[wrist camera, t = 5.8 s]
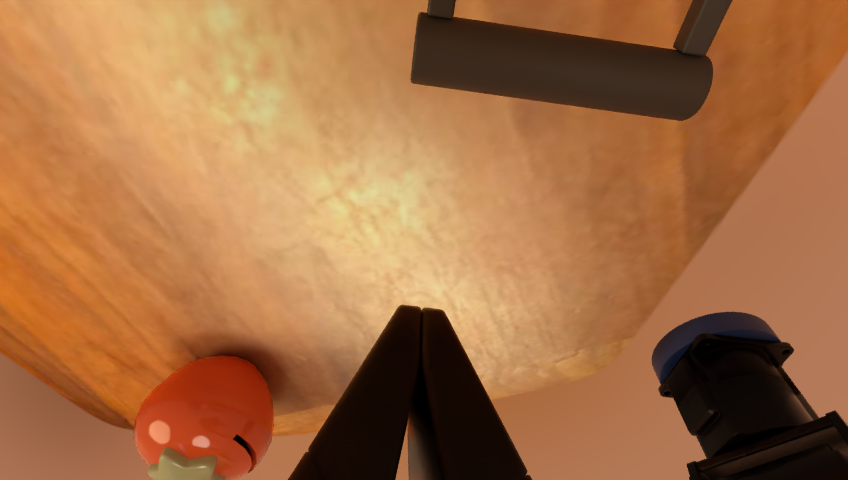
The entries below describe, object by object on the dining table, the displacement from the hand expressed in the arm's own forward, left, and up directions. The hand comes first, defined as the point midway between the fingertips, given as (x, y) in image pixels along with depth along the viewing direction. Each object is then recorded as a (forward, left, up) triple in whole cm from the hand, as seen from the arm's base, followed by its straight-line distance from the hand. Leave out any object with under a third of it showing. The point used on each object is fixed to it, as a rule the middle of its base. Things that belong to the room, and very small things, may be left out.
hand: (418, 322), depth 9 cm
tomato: (+10, +19, -12) cm, 25 cm away
